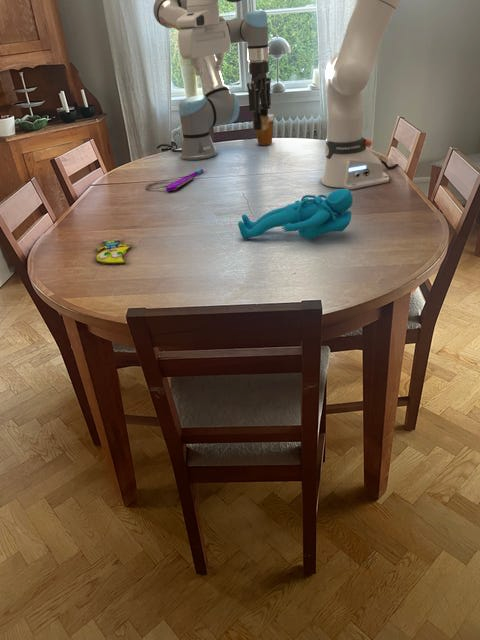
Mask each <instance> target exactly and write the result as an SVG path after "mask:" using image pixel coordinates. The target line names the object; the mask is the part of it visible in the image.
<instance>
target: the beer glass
mask: <svg viewBox="0 0 480 640" xmlns="http://www.w3.org/2000/svg"><path fill="white" fill-rule="evenodd" d="M268 116H269V128H268V129H266V130H264V131H262V130H255V134H256V140H257V144H258V145H259V146H269V145H271V144H273V143H272V142H273V135H274V123H275V115H274V114H273V113H268Z"/></svg>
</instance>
